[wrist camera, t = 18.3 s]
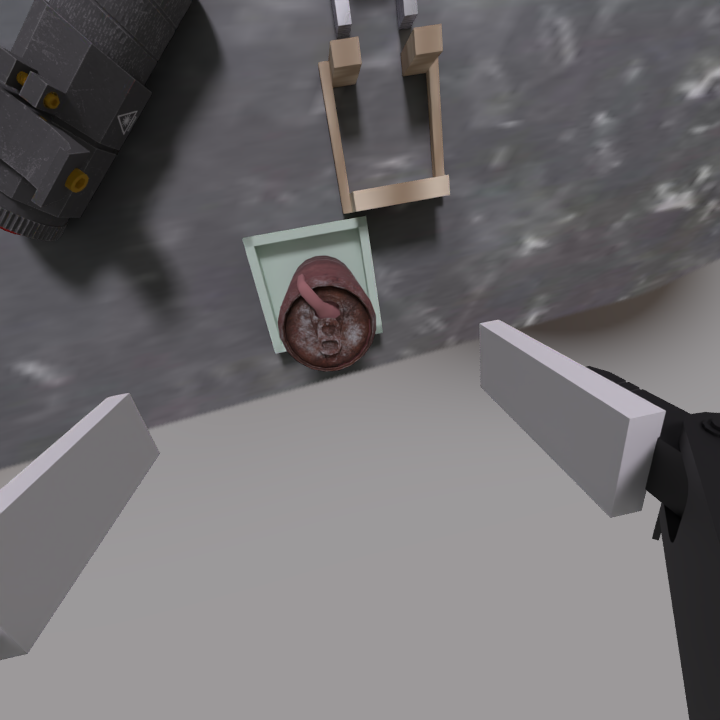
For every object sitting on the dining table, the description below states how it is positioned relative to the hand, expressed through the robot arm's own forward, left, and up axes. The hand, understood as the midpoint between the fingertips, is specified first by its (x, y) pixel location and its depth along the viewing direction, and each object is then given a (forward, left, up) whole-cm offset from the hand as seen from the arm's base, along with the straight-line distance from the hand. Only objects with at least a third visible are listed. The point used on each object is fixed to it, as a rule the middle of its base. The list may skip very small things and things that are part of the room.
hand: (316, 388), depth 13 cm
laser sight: (-14, +16, -23) cm, 32 cm away
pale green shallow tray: (0, 0, -23) cm, 23 cm away
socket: (+9, +11, -23) cm, 27 cm away
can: (+1, 0, -22) cm, 22 cm away
